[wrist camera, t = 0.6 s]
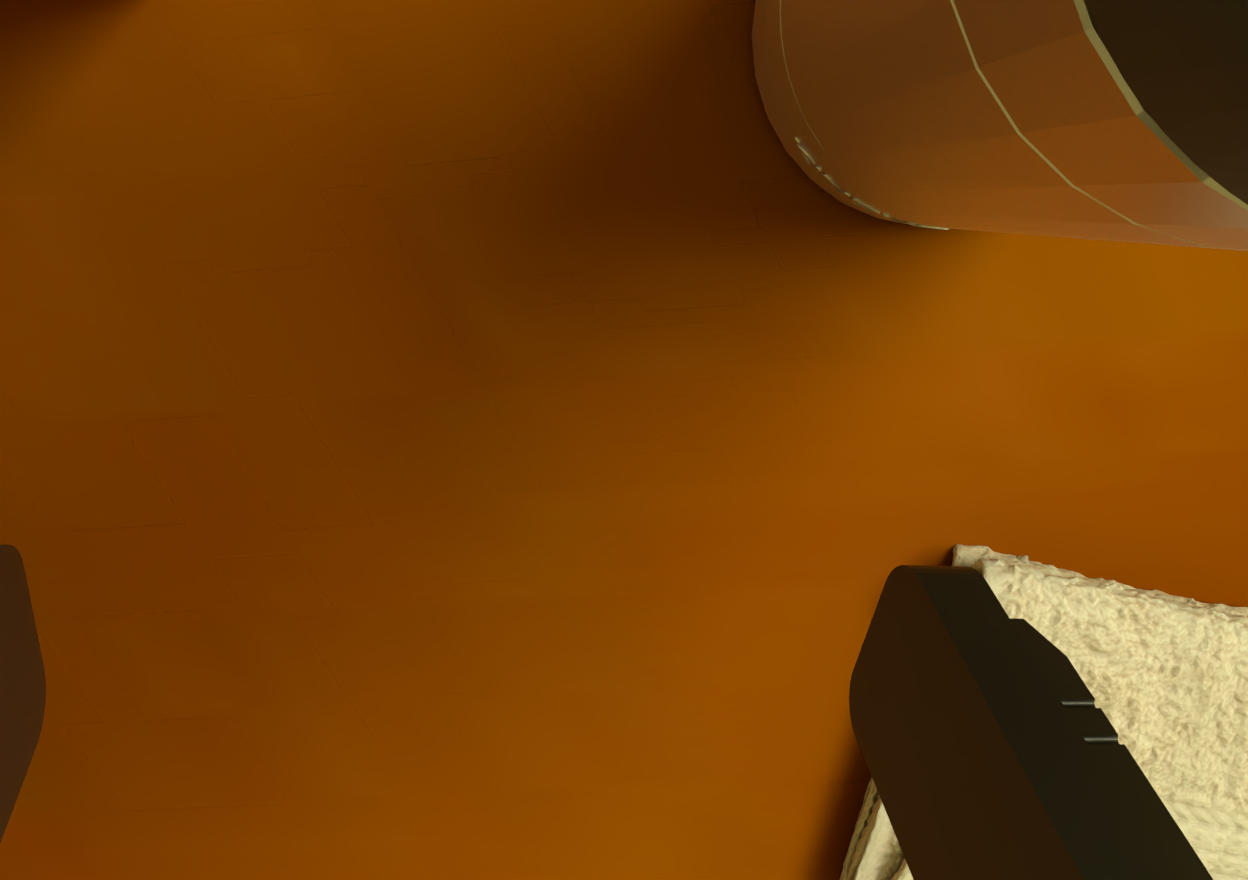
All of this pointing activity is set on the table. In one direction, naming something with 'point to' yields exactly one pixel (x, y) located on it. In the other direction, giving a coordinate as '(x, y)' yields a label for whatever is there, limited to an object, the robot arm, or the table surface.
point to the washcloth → (1128, 700)
